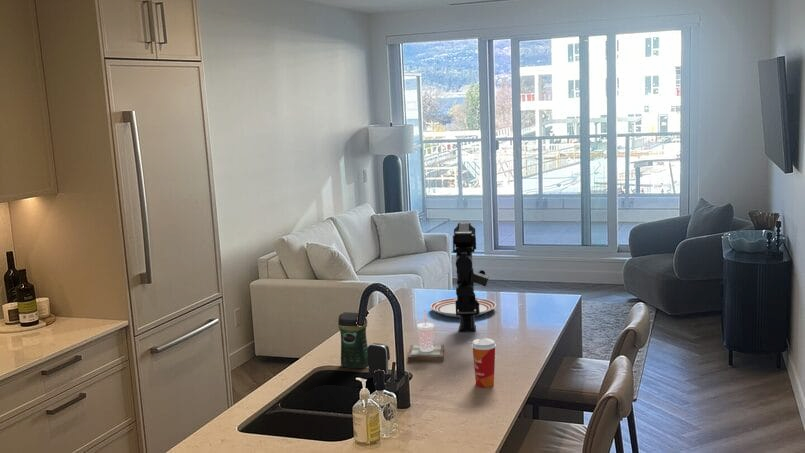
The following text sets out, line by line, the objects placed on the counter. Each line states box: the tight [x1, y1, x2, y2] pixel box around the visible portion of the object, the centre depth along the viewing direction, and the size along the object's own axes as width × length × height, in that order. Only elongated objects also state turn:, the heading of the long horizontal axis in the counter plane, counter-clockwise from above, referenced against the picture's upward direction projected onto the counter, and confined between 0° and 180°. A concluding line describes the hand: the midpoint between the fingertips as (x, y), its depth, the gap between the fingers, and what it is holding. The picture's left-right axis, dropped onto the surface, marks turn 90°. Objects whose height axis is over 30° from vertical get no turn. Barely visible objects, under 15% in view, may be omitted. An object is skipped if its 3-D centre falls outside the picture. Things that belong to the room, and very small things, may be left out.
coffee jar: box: [337, 311, 369, 369], centre depth 267 cm, size 10×8×19 cm
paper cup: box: [471, 337, 497, 389], centre depth 244 cm, size 8×8×14 cm
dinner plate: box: [429, 297, 497, 318], centre depth 326 cm, size 28×27×3 cm
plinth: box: [407, 344, 445, 363], centre depth 274 cm, size 12×12×2 cm
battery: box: [367, 342, 391, 379], centre depth 254 cm, size 7×4×11 cm, turn 63°
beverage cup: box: [416, 310, 435, 352], centre depth 272 cm, size 6×6×14 cm
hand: (465, 307), depth 285 cm, fingers open, 9 cm apart
